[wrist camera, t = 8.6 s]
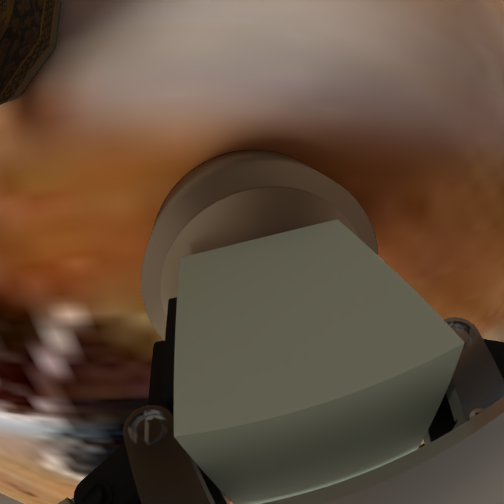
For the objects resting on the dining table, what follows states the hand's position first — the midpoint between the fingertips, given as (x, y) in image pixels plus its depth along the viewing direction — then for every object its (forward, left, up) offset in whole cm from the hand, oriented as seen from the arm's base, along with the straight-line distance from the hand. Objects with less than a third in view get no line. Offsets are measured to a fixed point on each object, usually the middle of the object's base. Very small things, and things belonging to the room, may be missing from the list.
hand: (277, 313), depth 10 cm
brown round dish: (0, 0, -5) cm, 5 cm away
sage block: (0, 0, -1) cm, 1 cm away
